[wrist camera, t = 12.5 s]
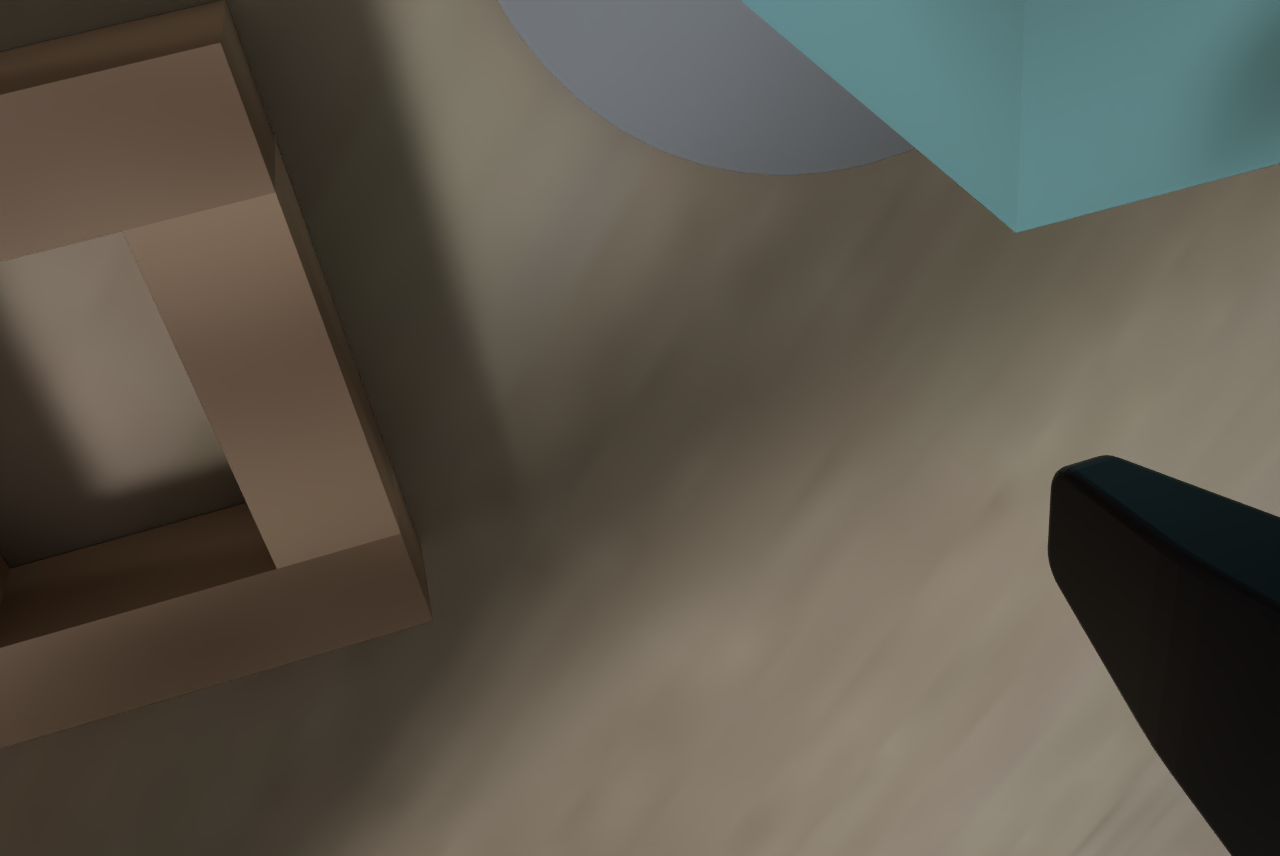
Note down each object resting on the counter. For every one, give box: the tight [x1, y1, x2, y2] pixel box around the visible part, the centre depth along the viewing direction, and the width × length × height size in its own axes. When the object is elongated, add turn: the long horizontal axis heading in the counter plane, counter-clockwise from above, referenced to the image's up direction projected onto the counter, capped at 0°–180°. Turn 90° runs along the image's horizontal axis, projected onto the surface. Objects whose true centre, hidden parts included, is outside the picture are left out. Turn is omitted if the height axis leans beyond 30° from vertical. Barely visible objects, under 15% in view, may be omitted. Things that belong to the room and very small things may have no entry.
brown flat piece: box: [0, 0, 433, 749], centre depth 18 cm, size 10×8×2 cm
